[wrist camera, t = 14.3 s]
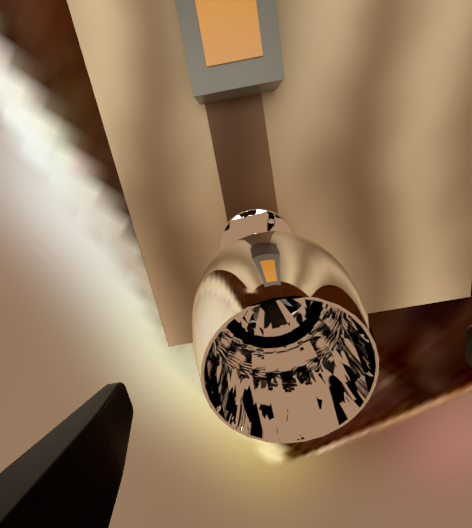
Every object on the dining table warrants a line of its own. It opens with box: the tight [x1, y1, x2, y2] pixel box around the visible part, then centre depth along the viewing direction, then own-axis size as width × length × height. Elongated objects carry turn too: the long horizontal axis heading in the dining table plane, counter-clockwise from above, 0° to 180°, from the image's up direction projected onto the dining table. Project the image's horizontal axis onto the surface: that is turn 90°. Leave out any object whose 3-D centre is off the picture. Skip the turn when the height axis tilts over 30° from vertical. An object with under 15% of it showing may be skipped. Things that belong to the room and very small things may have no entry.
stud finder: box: [175, 0, 284, 105], centre depth 15 cm, size 4×6×3 cm, turn 10°
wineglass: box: [191, 208, 379, 443], centre depth 14 cm, size 6×6×12 cm
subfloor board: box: [67, 0, 472, 346], centre depth 18 cm, size 20×23×1 cm
